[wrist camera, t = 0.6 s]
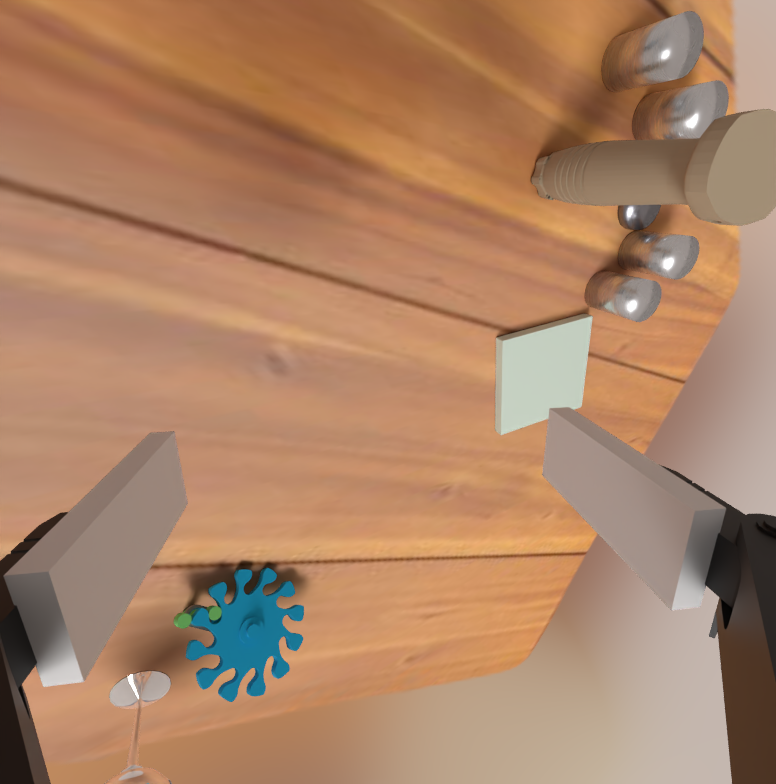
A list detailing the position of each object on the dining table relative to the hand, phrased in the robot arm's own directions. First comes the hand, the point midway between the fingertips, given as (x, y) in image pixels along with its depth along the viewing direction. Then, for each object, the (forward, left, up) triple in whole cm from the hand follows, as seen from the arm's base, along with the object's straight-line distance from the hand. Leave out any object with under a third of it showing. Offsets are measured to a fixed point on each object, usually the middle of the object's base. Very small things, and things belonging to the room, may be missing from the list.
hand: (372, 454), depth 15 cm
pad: (+11, +23, -18) cm, 31 cm away
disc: (-3, +32, -19) cm, 37 cm away
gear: (+25, -10, -19) cm, 32 cm away
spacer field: (-5, +30, -18) cm, 36 cm away
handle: (-7, +22, -19) cm, 30 cm away
